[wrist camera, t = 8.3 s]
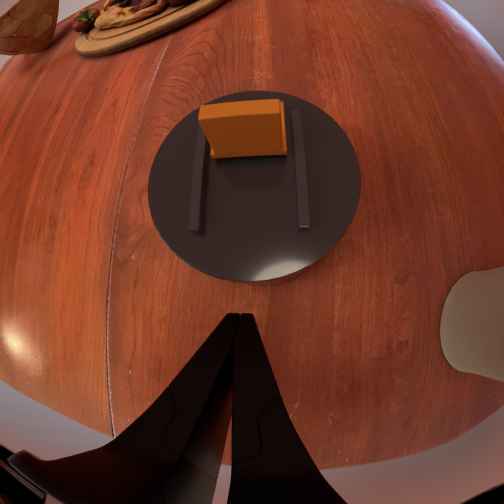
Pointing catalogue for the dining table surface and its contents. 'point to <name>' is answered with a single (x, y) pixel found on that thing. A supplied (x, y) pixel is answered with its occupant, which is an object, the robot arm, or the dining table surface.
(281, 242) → the round container with rails
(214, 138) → the slider
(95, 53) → the wooden plate
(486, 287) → the can
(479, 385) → the dining table surface
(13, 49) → the bowl
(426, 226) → the dining table surface
